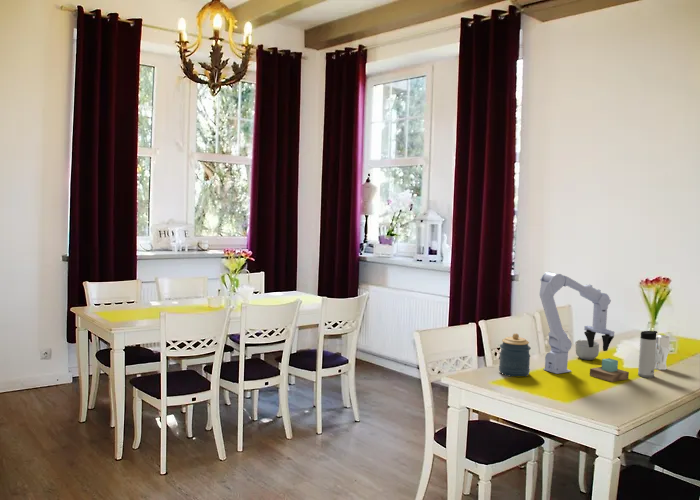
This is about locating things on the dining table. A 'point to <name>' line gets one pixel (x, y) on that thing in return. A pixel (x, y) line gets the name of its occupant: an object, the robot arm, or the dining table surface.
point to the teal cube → (609, 365)
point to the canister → (514, 356)
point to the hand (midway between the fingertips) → (598, 349)
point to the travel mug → (647, 354)
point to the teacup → (586, 350)
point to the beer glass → (661, 352)
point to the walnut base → (609, 374)
